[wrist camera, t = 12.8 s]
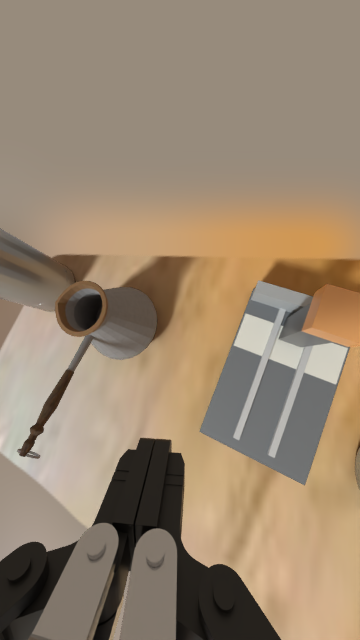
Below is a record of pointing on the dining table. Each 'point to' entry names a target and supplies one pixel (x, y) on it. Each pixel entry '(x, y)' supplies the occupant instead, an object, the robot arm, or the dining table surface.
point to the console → (274, 387)
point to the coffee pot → (98, 333)
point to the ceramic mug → (357, 468)
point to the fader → (325, 319)
